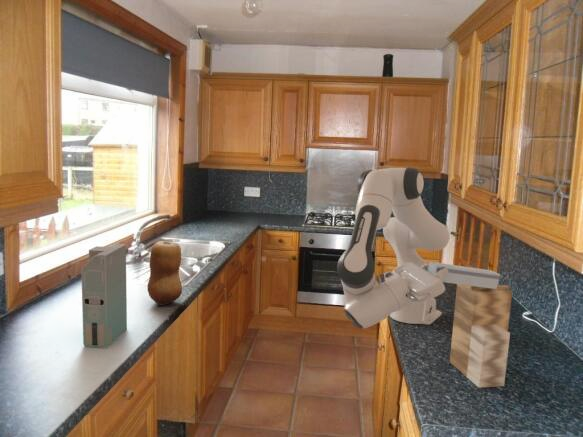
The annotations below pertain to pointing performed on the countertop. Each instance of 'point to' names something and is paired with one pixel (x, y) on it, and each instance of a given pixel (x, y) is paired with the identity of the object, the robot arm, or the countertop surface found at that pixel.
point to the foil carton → (466, 275)
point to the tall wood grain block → (481, 333)
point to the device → (104, 296)
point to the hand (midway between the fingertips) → (441, 266)
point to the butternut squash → (165, 272)
